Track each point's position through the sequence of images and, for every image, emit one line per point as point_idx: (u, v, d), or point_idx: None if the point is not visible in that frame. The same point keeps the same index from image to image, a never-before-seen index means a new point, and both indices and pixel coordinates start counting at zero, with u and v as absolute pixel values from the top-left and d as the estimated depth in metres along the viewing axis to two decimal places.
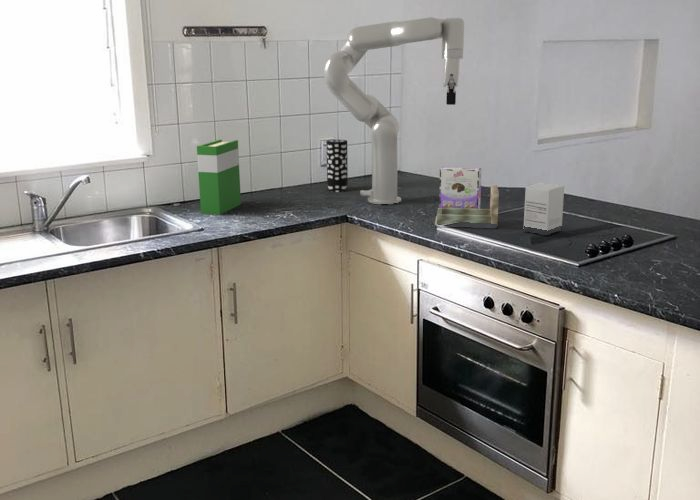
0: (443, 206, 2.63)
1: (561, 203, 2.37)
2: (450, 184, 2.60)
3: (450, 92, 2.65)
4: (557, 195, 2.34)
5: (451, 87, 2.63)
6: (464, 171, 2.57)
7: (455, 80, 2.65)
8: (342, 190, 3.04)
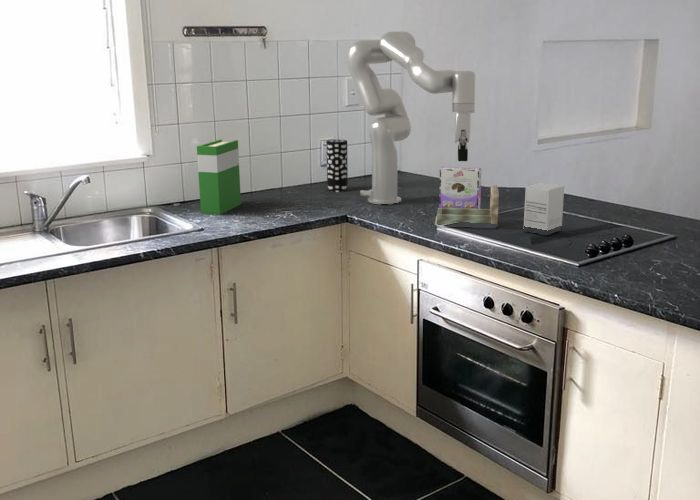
0: (443, 206, 2.63)
1: (561, 203, 2.37)
2: (450, 184, 2.60)
3: (462, 148, 2.52)
4: (557, 195, 2.34)
5: (463, 144, 2.50)
6: (464, 171, 2.57)
7: (467, 136, 2.52)
8: (342, 190, 3.04)
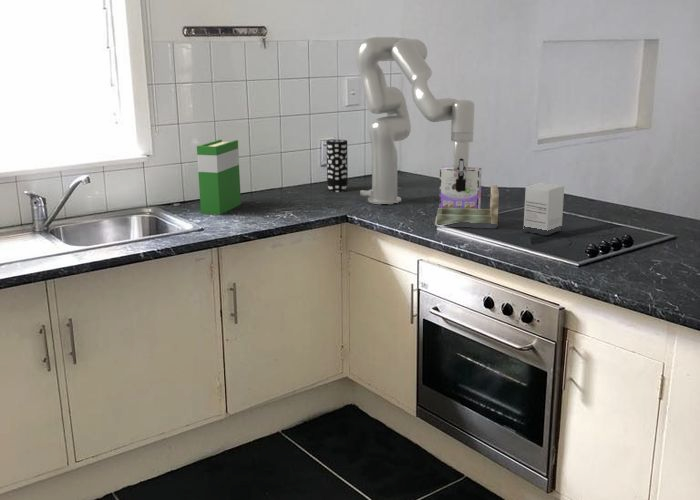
0: (443, 206, 2.63)
1: (561, 203, 2.37)
2: (451, 184, 2.60)
3: (460, 179, 2.56)
4: (557, 195, 2.34)
5: (461, 174, 2.54)
6: None
7: (465, 165, 2.55)
8: (342, 190, 3.04)
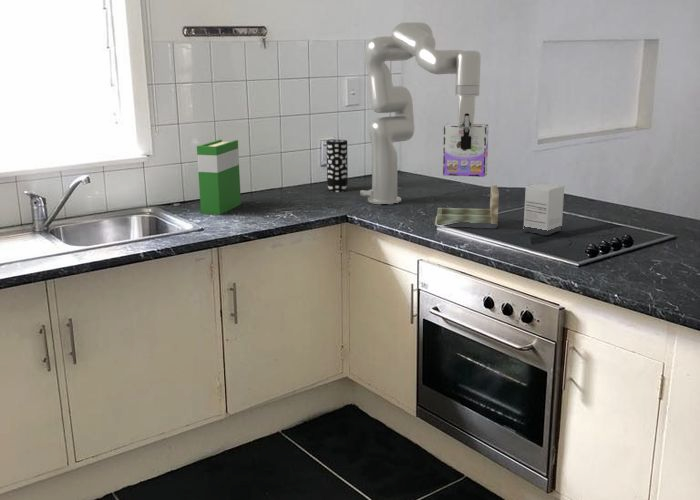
0: (448, 166, 2.45)
1: (561, 203, 2.37)
2: (455, 142, 2.42)
3: (465, 135, 2.38)
4: (557, 195, 2.34)
5: (466, 130, 2.36)
6: None
7: (471, 120, 2.37)
8: (342, 190, 3.04)
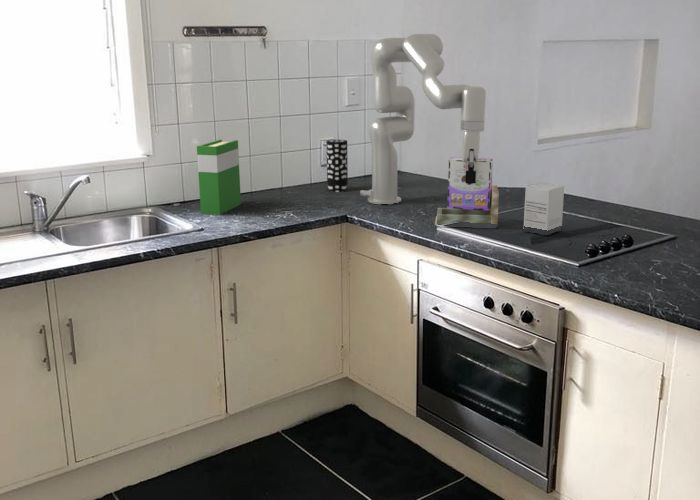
0: (452, 199, 2.47)
1: (561, 203, 2.37)
2: (460, 176, 2.44)
3: (470, 170, 2.41)
4: (557, 195, 2.34)
5: (471, 165, 2.39)
6: None
7: (475, 155, 2.39)
8: (342, 190, 3.04)
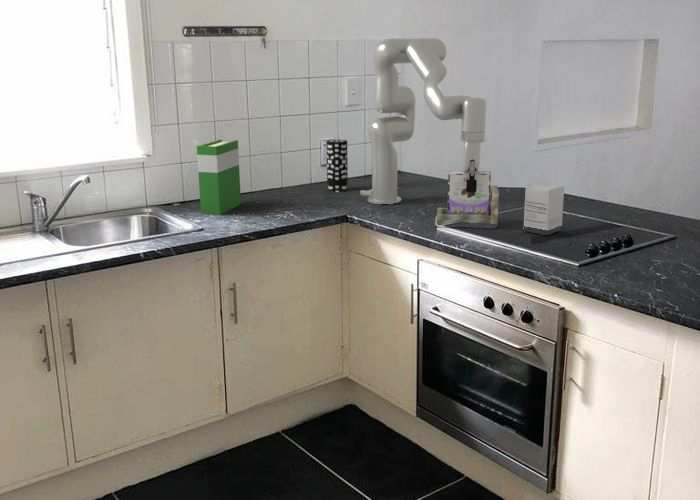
0: (452, 212, 2.49)
1: (561, 203, 2.37)
2: (460, 189, 2.46)
3: (470, 179, 2.41)
4: (557, 195, 2.34)
5: (472, 174, 2.38)
6: None
7: (476, 166, 2.40)
8: (342, 190, 3.04)
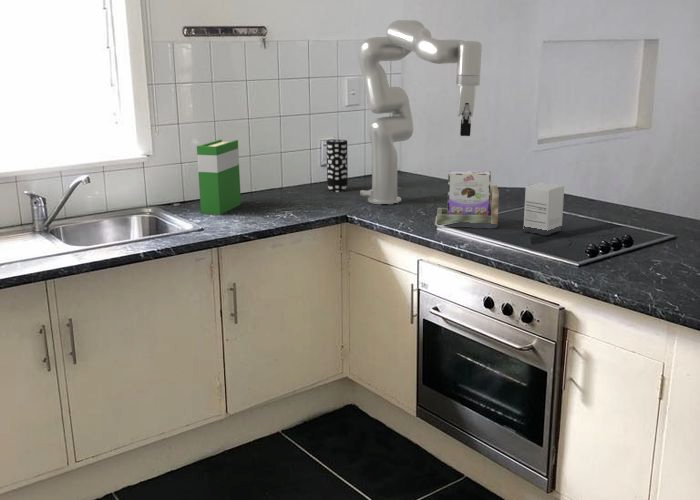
0: (452, 212, 2.49)
1: (561, 203, 2.37)
2: (460, 189, 2.46)
3: (465, 123, 2.41)
4: (557, 195, 2.34)
5: (466, 117, 2.39)
6: (475, 175, 2.44)
7: (470, 109, 2.41)
8: (342, 190, 3.04)
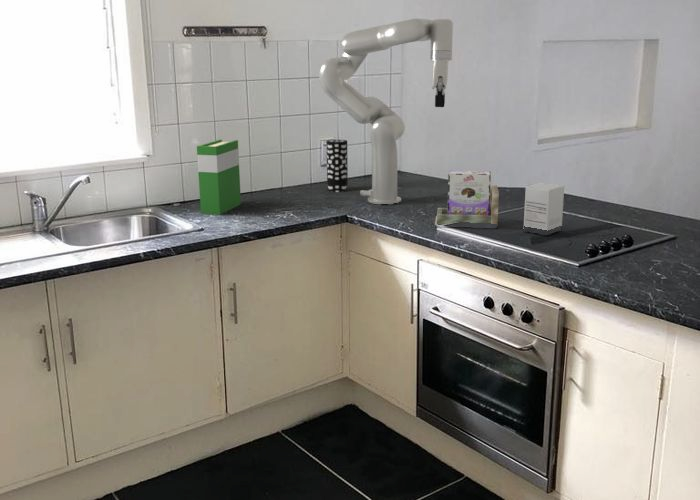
0: (452, 212, 2.49)
1: (561, 203, 2.37)
2: (460, 189, 2.46)
3: (439, 94, 2.61)
4: (557, 195, 2.34)
5: (439, 89, 2.59)
6: (475, 175, 2.44)
7: (444, 82, 2.61)
8: (342, 190, 3.04)
